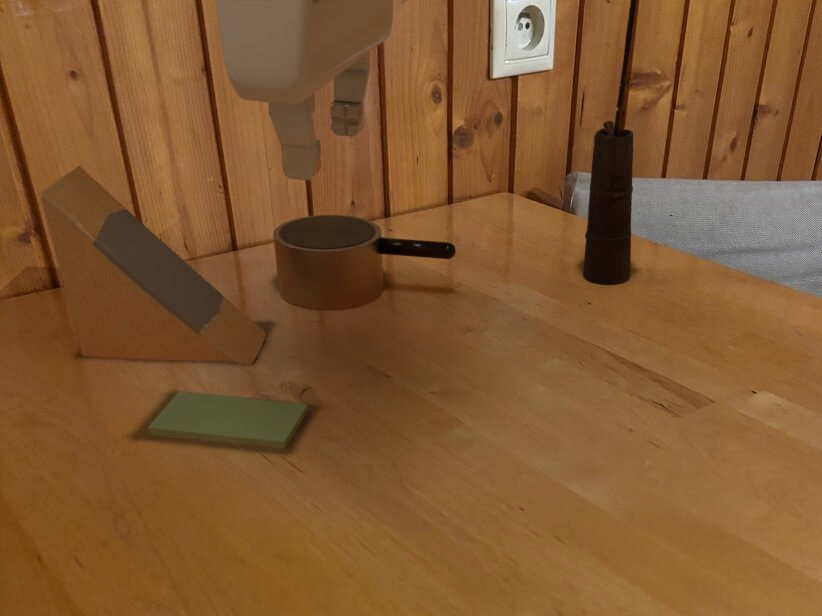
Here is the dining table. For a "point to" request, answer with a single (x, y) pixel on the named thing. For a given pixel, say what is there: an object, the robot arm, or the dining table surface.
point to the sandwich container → (136, 285)
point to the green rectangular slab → (229, 419)
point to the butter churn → (611, 194)
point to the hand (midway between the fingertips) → (326, 153)
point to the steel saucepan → (339, 260)
